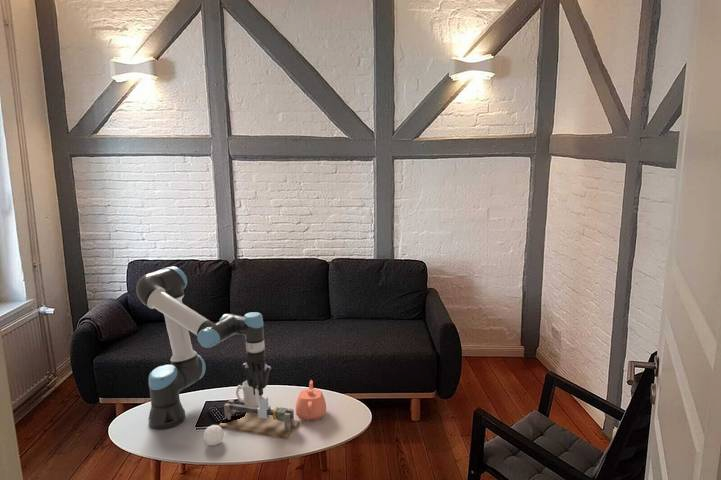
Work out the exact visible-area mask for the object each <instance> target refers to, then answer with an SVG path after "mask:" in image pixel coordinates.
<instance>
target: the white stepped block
mask: <svg viewBox="0 0 721 480" xmlns="http://www.w3.org/2000/svg"><path fill="white" fill-rule="evenodd" d="M271 407H272V406H271V405H270V404H269V397H268V396H265V395H262V396H261V397H260V398H259V407H258V413H257V414H258V418H264V419H267V418H268V417H269V416H271V415H267V410H268V409H271ZM271 410H272V409H271Z"/></svg>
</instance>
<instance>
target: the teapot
mask: <svg viewBox="0 0 721 480" xmlns="http://www.w3.org/2000/svg"><path fill="white" fill-rule="evenodd" d="M326 411H327V403H326V400H325V397H324V394H323V392H322V391H321V389H317V388H314V382H313V380H312V379H310V380H309V387H308V389H302V390H301V391H300V392H299V395H298V396H297V399H296V403H295V415H296V416H297V418H298V419H300V420H301V421H302V422H306V421H311V420H316V421H320V420H321V419H322V418H323V417H324V416H325V414H326Z"/></svg>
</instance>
